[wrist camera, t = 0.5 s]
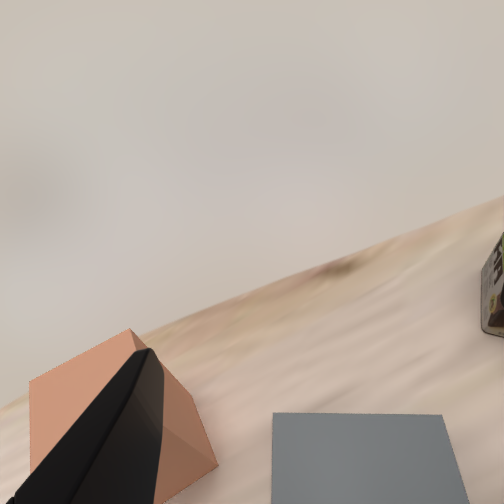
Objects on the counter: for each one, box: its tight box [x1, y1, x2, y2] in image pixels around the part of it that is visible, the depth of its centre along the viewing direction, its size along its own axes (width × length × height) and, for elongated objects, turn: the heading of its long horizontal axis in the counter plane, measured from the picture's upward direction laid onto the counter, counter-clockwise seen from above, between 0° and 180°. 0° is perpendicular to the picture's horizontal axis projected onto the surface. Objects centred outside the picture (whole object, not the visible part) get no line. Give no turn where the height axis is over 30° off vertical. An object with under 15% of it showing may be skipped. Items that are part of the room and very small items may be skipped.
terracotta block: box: [29, 328, 218, 504], centre depth 17 cm, size 5×5×10 cm
